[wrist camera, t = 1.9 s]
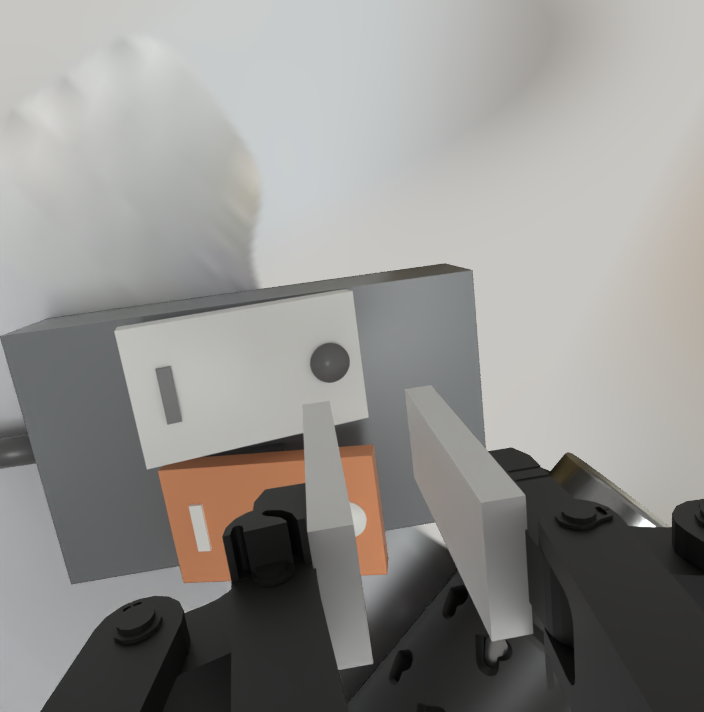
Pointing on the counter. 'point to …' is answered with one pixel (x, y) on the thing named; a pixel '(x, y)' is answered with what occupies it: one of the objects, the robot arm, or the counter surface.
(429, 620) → the muzzle brake
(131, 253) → the counter surface
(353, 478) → the orange slotted plate
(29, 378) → the switch module
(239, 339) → the light grey flat plate
